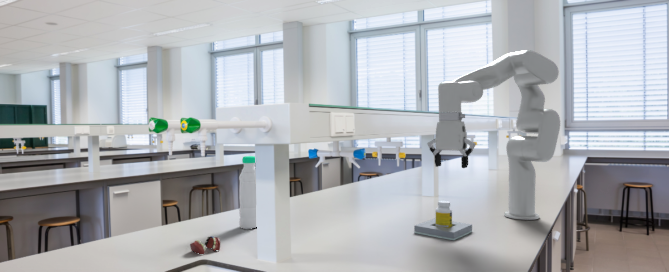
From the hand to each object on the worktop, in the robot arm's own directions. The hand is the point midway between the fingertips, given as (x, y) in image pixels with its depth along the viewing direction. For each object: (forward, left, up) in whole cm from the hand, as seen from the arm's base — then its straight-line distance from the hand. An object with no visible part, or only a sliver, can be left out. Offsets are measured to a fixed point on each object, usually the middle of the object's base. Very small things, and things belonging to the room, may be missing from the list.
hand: (451, 166), depth 149 cm
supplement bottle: (+7, +1, -21) cm, 22 cm away
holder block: (+7, +1, -21) cm, 23 cm away
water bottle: (+45, -54, -22) cm, 74 cm away
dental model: (+71, -41, -22) cm, 85 cm away
